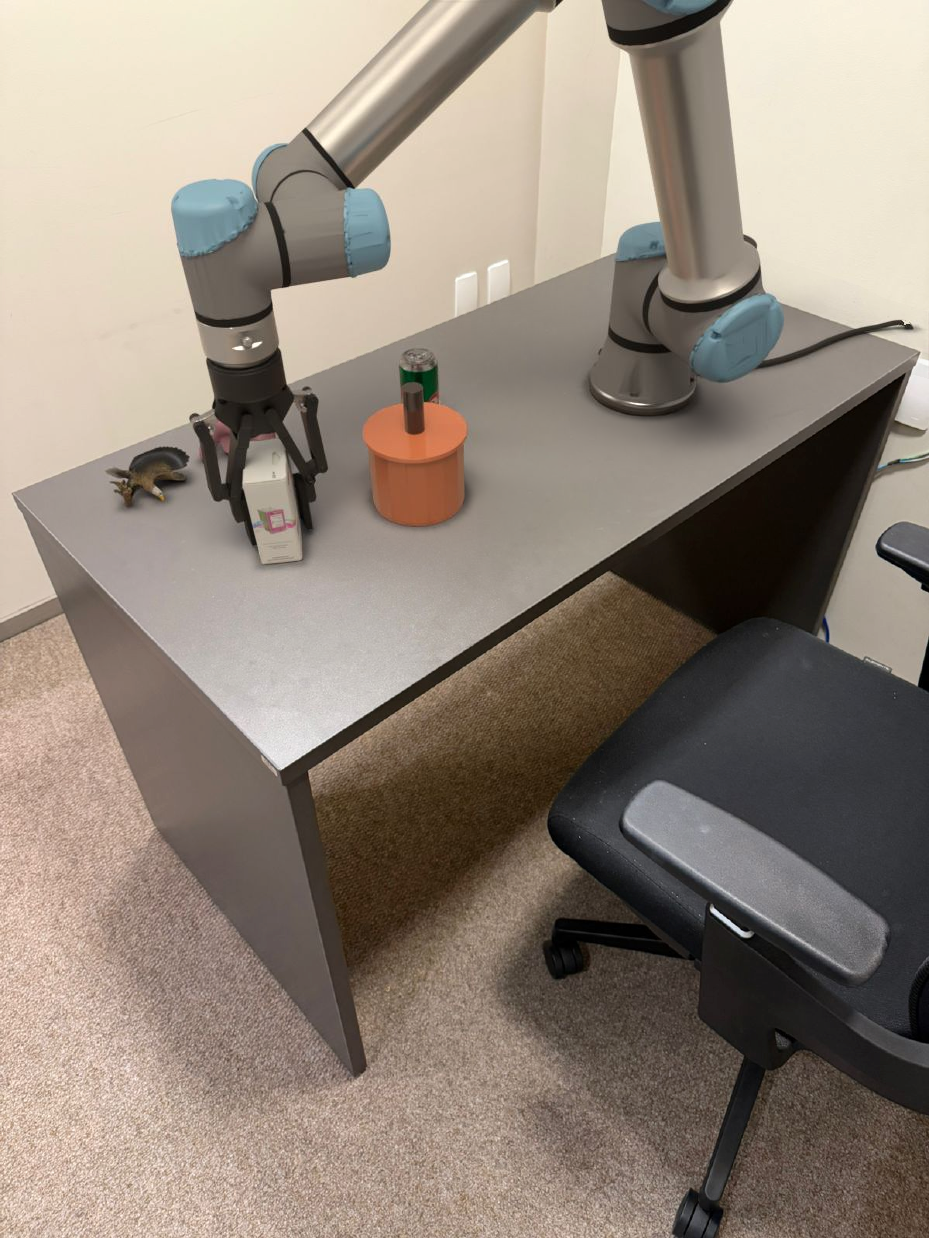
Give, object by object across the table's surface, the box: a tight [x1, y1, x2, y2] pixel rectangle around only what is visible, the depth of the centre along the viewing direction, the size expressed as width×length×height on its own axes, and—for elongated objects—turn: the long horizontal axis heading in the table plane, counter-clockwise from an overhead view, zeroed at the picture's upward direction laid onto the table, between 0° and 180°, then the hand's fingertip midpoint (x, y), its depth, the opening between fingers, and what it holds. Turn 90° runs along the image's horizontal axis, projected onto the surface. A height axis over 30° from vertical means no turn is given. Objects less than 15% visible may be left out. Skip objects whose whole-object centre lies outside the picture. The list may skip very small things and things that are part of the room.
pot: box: [367, 443, 465, 527], centre depth 106 cm, size 11×11×10 cm
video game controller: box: [198, 421, 277, 462], centre depth 114 cm, size 10×5×7 cm, turn 71°
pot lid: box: [362, 382, 468, 463], centre depth 100 cm, size 12×12×7 cm
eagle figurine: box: [104, 445, 191, 507], centre depth 108 cm, size 8×7×9 cm
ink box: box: [242, 437, 303, 565], centre depth 99 cm, size 9×5×12 cm, turn 9°
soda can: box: [398, 347, 440, 405], centre depth 115 cm, size 5×5×12 cm
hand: (279, 531), depth 103 cm, fingers closed on ink box, 6 cm apart
